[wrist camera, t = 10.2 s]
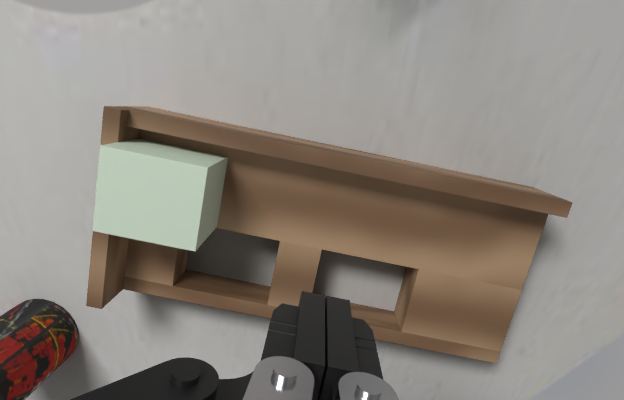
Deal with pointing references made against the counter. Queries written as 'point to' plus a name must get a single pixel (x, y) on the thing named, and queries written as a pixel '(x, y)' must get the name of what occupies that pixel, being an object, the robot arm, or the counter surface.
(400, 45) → the counter surface
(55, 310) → the deodorant
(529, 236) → the box
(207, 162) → the block
